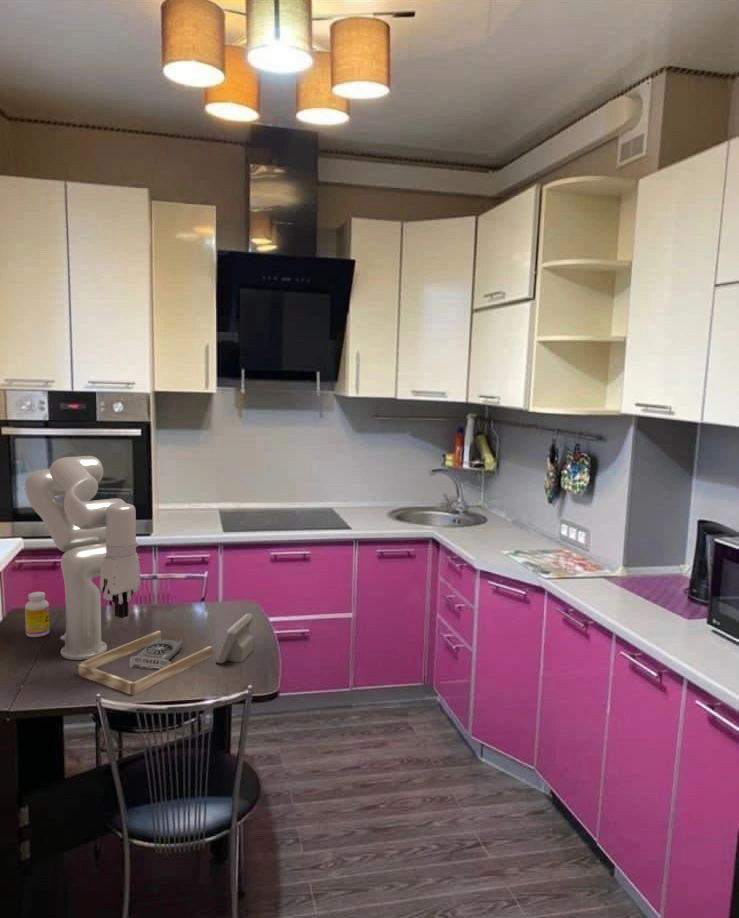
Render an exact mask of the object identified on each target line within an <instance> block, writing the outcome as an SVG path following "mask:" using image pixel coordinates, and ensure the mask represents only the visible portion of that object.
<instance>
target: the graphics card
mask: <svg viewBox="0 0 739 918" xmlns="http://www.w3.org/2000/svg"><path fill="white" fill-rule="evenodd" d="M183 646H184V641H183V640H180V641H176V640H173V639H161V640H160V638H158V639H156V640H154V641H153V642H152V643H151V644H150V645H148V646H147V647H145V648H143V649H141V650H140V652H139V653H138V654H136V655H133V656H130V658H129V669H131V668H140V669H142V670H147V669H151V670H153V671H158V670H160V669H162V668H164V667H166V666H168V665H170V664H172V661H170V660H171V658H173V657H174V656H175V655H176V654H177V653H179V651H180V650H181V648H182V647H183Z"/></svg>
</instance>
